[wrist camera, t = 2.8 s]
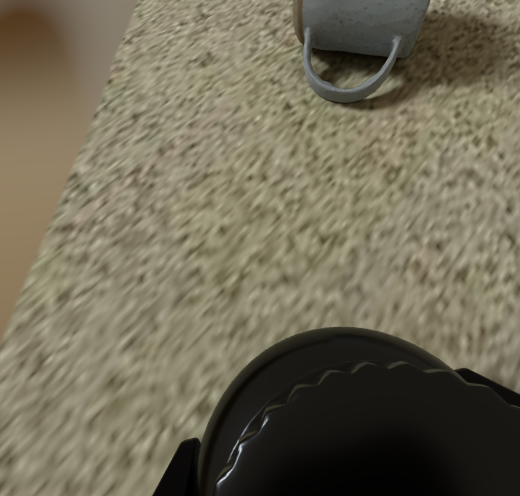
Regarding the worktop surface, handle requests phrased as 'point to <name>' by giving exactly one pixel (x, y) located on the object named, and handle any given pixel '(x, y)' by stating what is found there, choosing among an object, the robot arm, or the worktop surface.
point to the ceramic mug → (357, 36)
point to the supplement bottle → (357, 424)
